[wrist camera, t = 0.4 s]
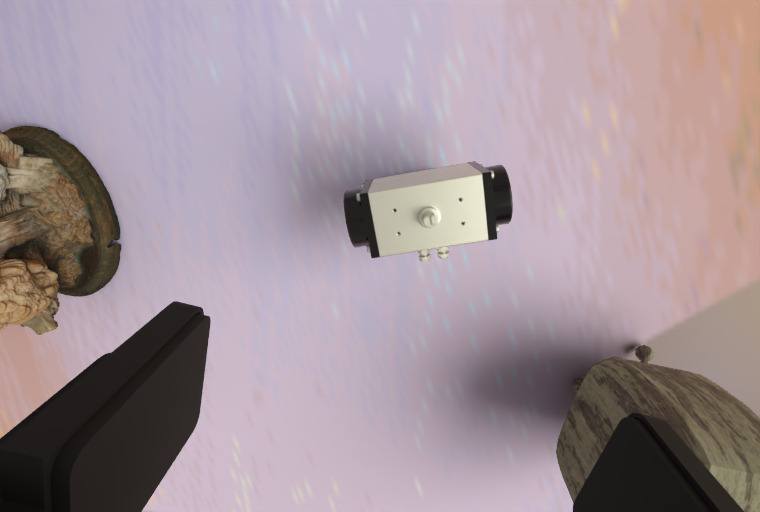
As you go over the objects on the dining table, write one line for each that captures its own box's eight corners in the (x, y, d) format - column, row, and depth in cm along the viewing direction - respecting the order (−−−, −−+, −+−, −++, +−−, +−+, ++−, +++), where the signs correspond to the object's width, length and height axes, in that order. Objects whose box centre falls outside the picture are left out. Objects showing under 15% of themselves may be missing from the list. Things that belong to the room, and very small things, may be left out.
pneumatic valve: (354, 174, 38) (335, 201, 26) (481, 152, 36) (518, 169, 25) (365, 231, 39) (352, 278, 28) (486, 211, 38) (524, 253, 27)
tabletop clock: (610, 443, 47) (826, 781, 23) (533, 428, 46) (673, 755, 23) (663, 336, 42) (1007, 624, 18) (578, 319, 41) (815, 589, 18)
